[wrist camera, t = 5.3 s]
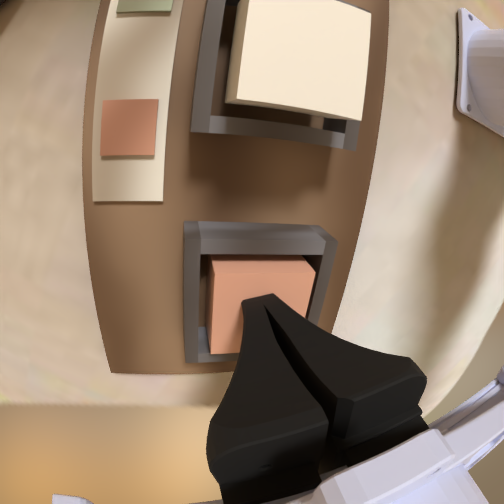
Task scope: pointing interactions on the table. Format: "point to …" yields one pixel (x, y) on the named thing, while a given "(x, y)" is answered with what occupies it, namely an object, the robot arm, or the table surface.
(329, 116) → the cream key
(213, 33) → the keypad
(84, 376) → the table surface
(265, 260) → the terracotta key
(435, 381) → the table surface
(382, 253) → the table surface
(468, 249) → the table surface
